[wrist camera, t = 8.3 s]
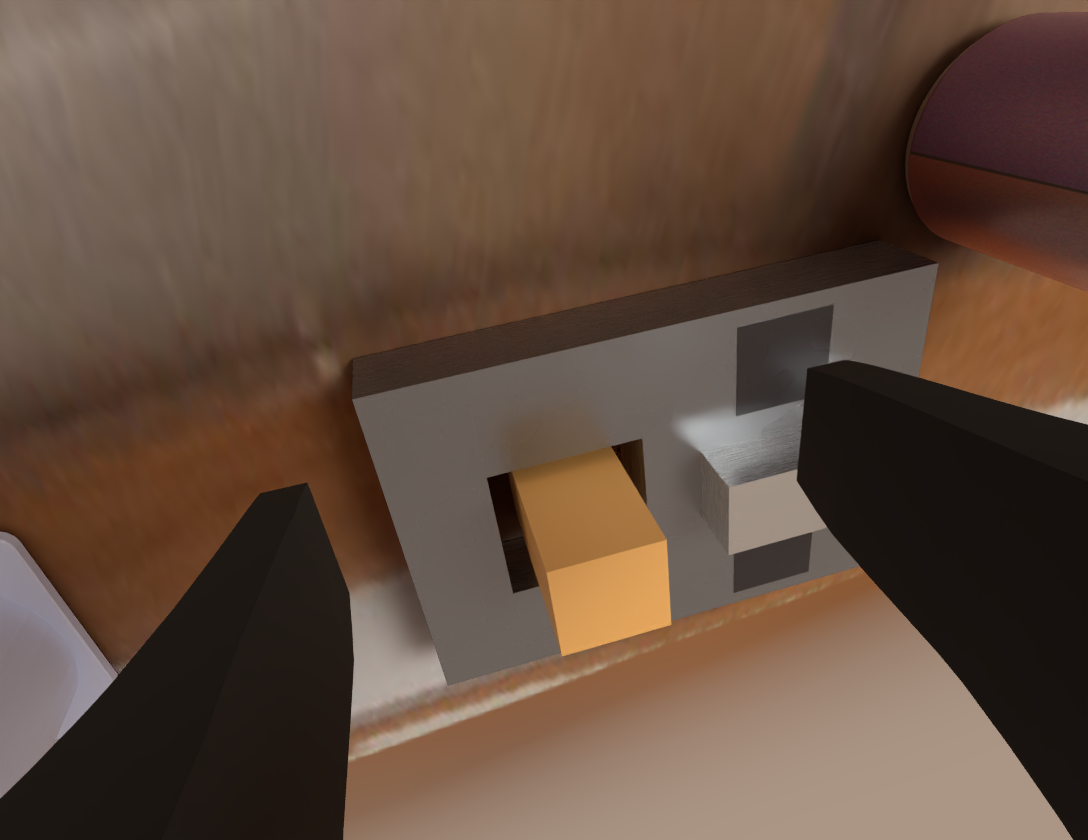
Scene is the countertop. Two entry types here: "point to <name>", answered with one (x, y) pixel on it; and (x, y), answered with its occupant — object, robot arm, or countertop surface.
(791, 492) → the bracket
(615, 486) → the orange rectangular block
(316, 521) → the robot arm
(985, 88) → the beverage can
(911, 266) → the rosette plate
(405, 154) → the countertop surface
